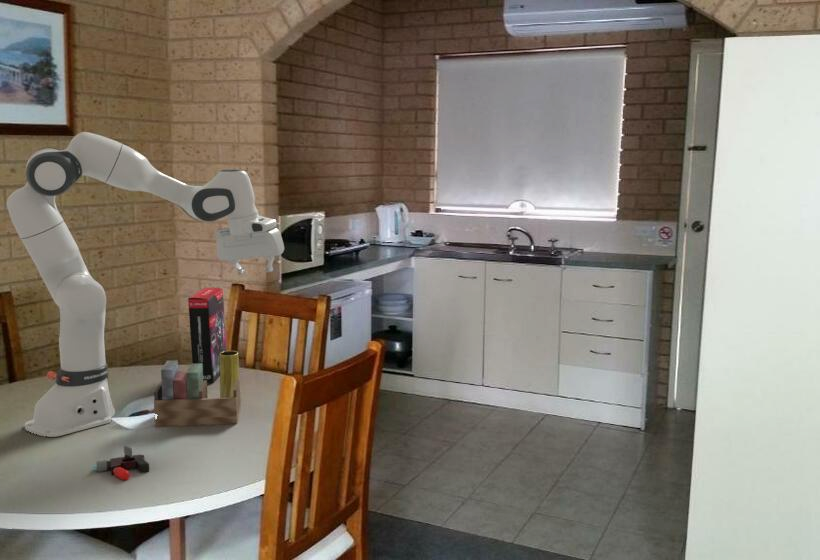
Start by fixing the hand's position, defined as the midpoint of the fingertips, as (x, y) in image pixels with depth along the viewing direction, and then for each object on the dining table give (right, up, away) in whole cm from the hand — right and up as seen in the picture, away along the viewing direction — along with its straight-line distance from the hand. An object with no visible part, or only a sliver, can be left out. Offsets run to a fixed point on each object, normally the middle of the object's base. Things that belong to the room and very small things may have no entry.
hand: (255, 272), depth 216 cm
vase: (-8, -37, +2) cm, 38 cm away
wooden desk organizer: (-13, -39, -12) cm, 43 cm away
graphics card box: (-20, -33, +25) cm, 46 cm away
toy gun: (-21, -46, -46) cm, 68 cm away
